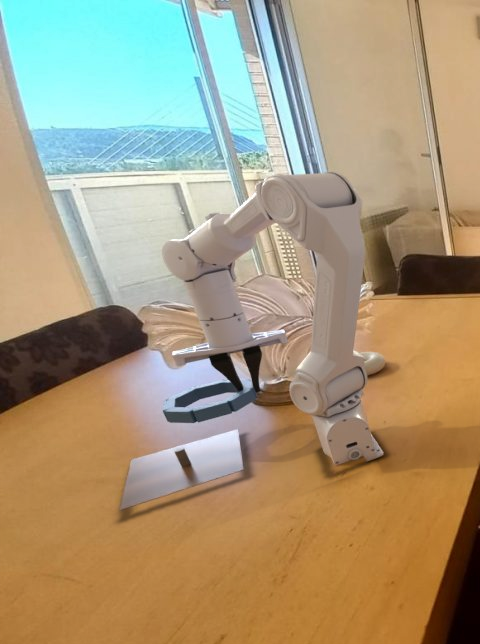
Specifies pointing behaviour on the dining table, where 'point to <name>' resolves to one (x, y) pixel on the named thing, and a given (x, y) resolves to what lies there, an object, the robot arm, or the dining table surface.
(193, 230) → the robot arm
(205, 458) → the platform
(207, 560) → the dining table surface
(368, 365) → the donut
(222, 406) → the ring
